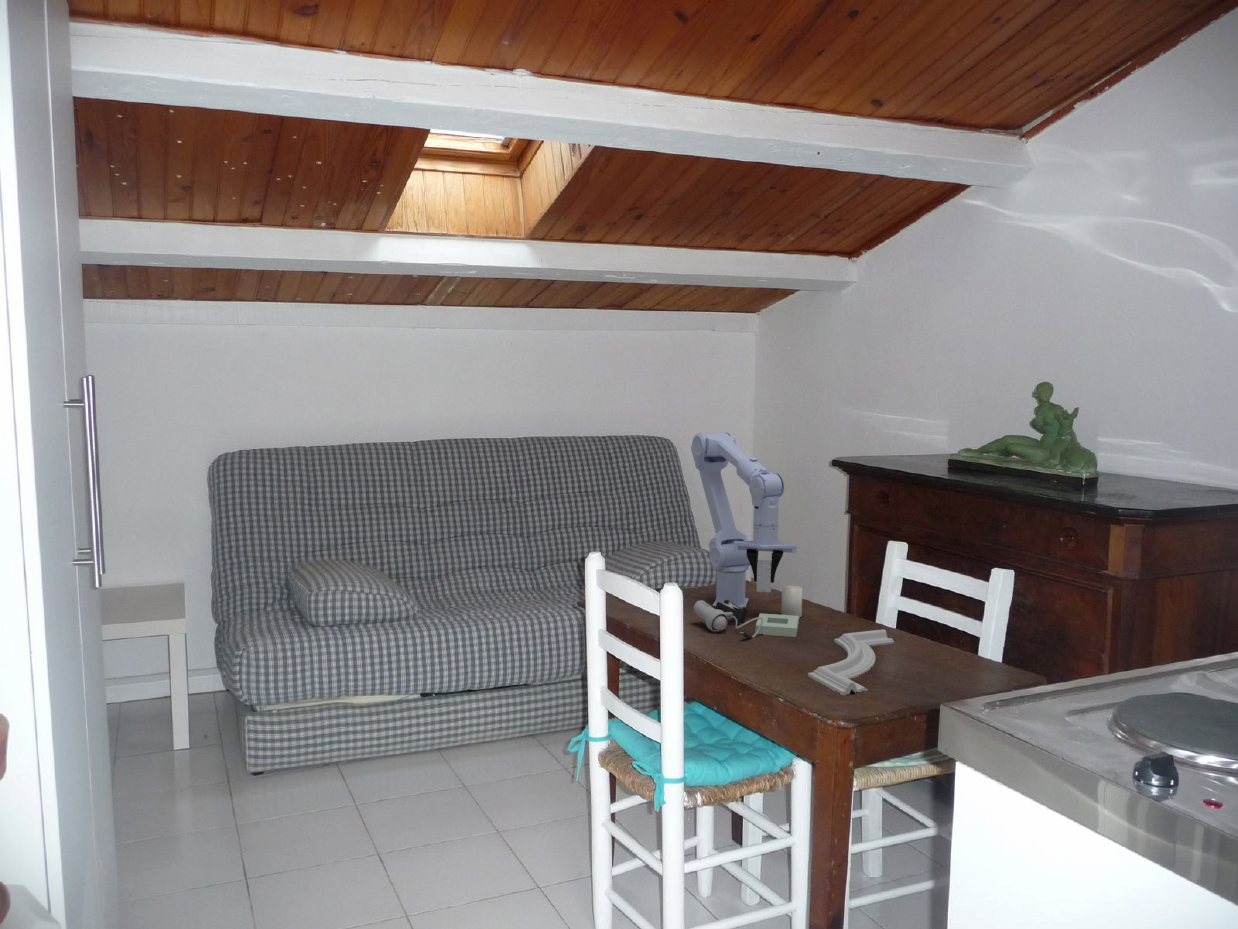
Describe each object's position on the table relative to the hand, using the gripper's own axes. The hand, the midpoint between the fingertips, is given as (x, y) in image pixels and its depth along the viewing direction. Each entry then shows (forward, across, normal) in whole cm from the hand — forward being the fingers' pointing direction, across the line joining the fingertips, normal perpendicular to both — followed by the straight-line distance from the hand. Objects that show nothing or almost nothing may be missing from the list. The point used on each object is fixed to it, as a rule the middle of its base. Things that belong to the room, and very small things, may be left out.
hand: (764, 581), depth 233 cm
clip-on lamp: (+9, -6, -12) cm, 17 cm away
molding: (+10, +22, -30) cm, 39 cm away
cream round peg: (+9, +6, +4) cm, 12 cm away
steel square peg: (+2, 0, 0) cm, 2 cm away
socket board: (+9, +4, -9) cm, 13 cm away
